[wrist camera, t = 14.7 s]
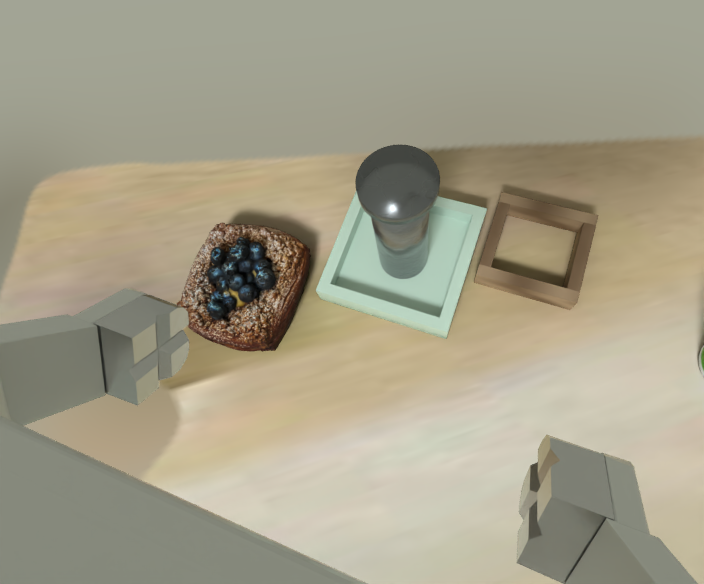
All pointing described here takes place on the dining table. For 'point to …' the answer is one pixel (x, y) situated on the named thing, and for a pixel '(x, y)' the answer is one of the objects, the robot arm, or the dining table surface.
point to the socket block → (548, 216)
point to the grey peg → (399, 205)
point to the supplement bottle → (701, 360)
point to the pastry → (245, 286)
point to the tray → (404, 294)
